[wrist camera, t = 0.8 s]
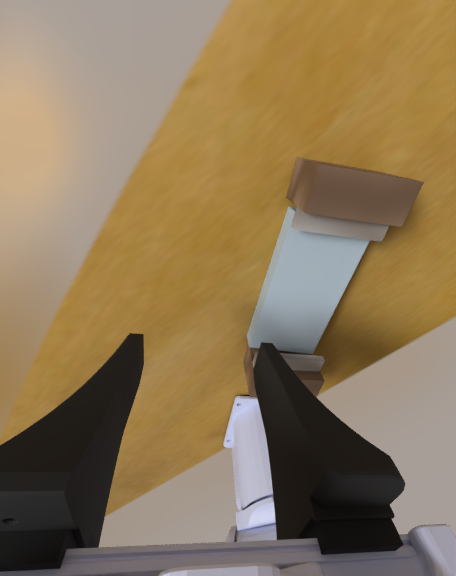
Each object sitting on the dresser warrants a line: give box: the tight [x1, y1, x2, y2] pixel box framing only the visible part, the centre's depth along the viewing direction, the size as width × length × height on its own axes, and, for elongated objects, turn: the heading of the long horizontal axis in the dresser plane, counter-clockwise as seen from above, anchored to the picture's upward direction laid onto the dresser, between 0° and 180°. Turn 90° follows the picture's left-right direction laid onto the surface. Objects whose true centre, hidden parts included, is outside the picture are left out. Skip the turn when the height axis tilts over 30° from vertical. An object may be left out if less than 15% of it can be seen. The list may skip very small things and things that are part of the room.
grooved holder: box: [244, 158, 424, 398], centre depth 20 cm, size 18×6×4 cm, turn 171°
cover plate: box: [247, 206, 370, 354], centre depth 21 cm, size 12×6×2 cm, turn 168°
